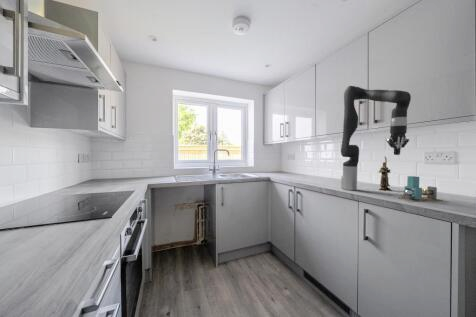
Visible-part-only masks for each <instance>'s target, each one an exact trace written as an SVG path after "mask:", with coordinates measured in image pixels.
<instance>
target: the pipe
mask: <svg viewBox="0 0 476 317" xmlns="http://www.w3.org/2000/svg"><path fill="white" fill-rule="evenodd" d="M426 188H427V189H426ZM426 188H422V196H423V197H427V198H431V199H438V198H437V197H438V196H437V195H438V194H437V193H438V187H436V186H427V187H426ZM401 195H402V198H404V199H409V200H412V196H414V189H412V190H404V189H403V193H402V194H401ZM411 195H412V196H411Z"/></svg>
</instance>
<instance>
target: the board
mask: <svg viewBox="0 0 476 317" xmlns="http://www.w3.org/2000/svg"><path fill="white" fill-rule="evenodd" d="M397 199H399V200H403V201H407V202H411V201H414V202H443V199H439V198H436V199H431V198H427V196H422V199H412V200H409V199H404V198H402V197H401V196H397Z"/></svg>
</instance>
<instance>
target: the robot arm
mask: <svg viewBox="0 0 476 317" xmlns="http://www.w3.org/2000/svg"><path fill="white" fill-rule="evenodd" d="M411 97H412V96H411V93H410V92H409V91H404V90H399V89H397V90H396V89H393V90H389V89H367V88H362V87H359V86H354V85H348V86H347V87H346V88H345V90H344V92H343V103H344V104H343V105H344V106H343V108H344V109H343V111H344V113H343V123H342V124H343V126H342V141H341V147H340V155H341V156H342V157H343V158H349V159H348V160H346V161H344V162H343V163H342V176H341V179H340V180H341V182H340V183H341V185H340V186H341V190H342V189H343V190H346V191H357V190H358V165H359V158H360V148H359V145H357V144H350V141H351V138H352V136H353V134H354V133H355V132H356V130H357V129H358V127H359V114H358V112H357V110H356V107H355V101H360V100H369V101H374V102H380V103H381V102H382V103H386V102H387V103H393V104H395V107H394V108H392V110H391V118H390V129H389V134H390V136H389V138H387V139H386V140H385V141H386V143H387V144H388V146H389V147H390V148H393V155H394V156H400V155H401V149H403V148H405V146H407V144H408V143H409V142H410V139H409V138H408V139H407V137H406V134H407V133H408V132H407V128H408V109H409V106H410V103H411V101H412V100H411V99H412V98H411Z"/></svg>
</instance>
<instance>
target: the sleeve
mask: <svg viewBox="0 0 476 317" xmlns="http://www.w3.org/2000/svg"><path fill="white" fill-rule="evenodd" d="M406 184H407V185H404V189H403V191H404V190H414V195H411V196H412V199H422V197H423V195H422V190H423V187H420V176H415V175H407V182H406Z"/></svg>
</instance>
